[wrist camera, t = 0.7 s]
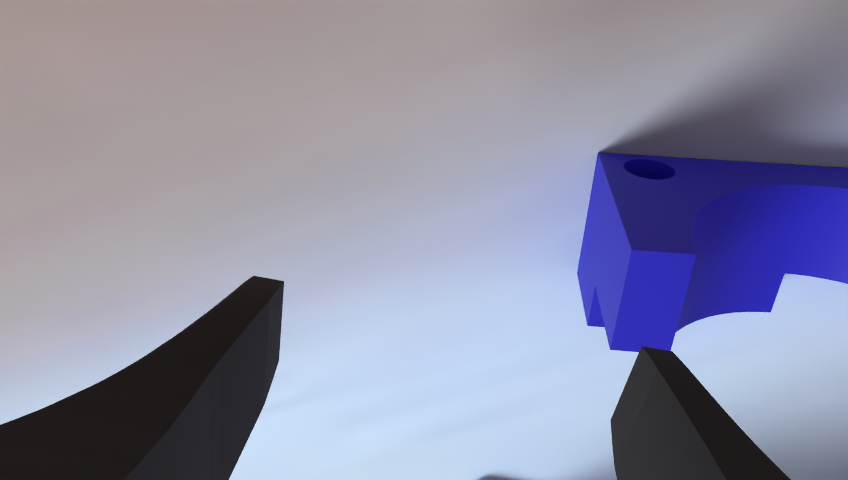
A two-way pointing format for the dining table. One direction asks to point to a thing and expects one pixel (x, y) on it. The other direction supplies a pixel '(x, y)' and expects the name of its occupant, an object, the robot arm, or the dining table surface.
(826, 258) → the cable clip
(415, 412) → the dining table surface
